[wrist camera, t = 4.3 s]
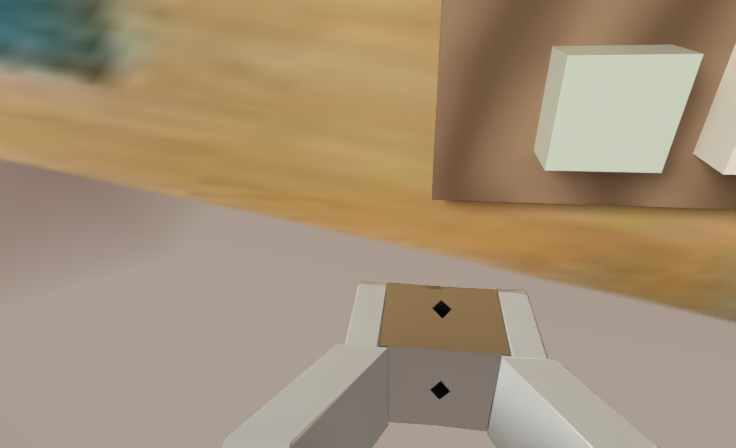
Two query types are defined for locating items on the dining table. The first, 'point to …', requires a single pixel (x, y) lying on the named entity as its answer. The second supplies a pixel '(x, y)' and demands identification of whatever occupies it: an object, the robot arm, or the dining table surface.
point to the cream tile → (721, 125)
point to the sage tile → (613, 106)
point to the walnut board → (526, 90)
